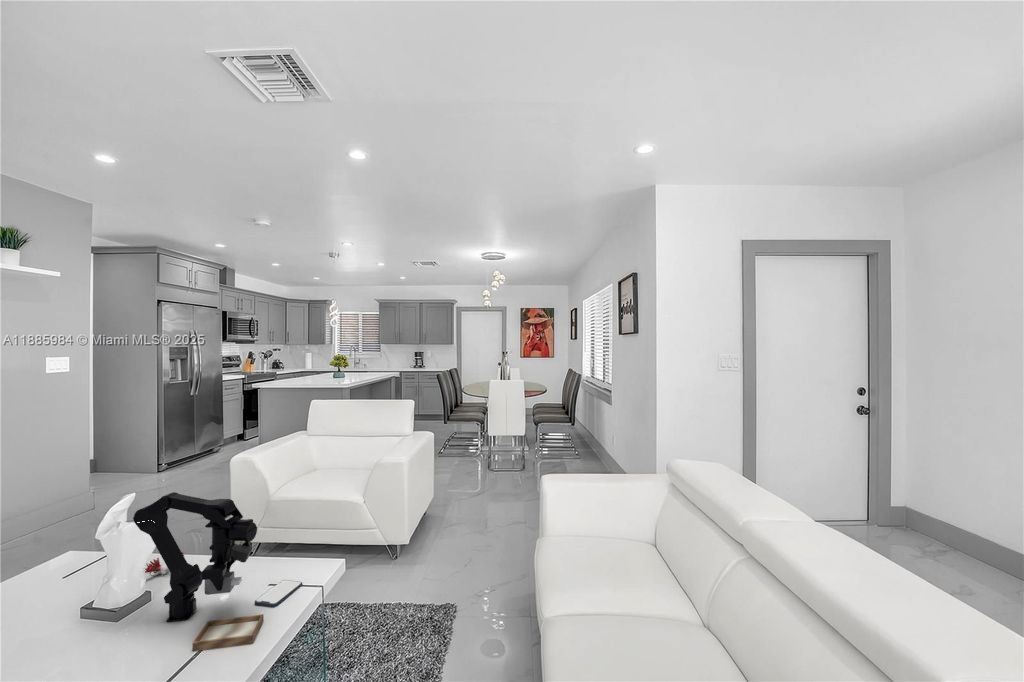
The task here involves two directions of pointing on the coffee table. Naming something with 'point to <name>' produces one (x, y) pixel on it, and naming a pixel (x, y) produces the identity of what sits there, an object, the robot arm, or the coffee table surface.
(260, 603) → the phone case
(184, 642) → the coffee table surface
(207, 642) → the tray
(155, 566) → the figurine
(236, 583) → the plug
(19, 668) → the coffee table surface
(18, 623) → the coffee table surface
